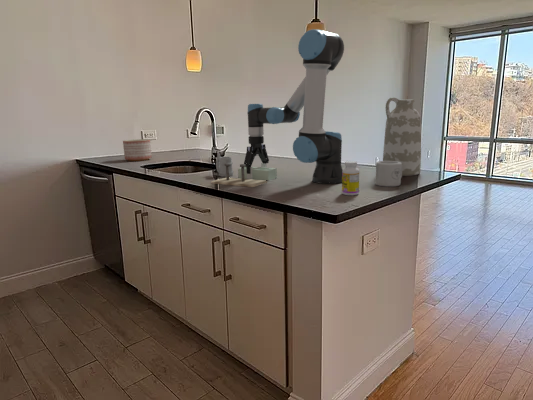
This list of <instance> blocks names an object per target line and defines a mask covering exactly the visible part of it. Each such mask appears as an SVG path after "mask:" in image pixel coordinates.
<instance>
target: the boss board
mask: <svg viewBox="0 0 533 400" xmlns="http://www.w3.org/2000/svg"><path fill="white" fill-rule="evenodd" d="M224 166H226V177H221V178H218V179H216V180H215V179H214V180H211V181H210V182H211V184H212V185H213V184H214V185H224V186H225V185H226V186H236V187H238V186H239V187H248V188H255V187H258V186H261V184H262V185H264V183H265V184H267V183H268V181H266V180H252V179H245V174H244V167H245V164H244V163H241V164H239V168H241V173H242V179H240V178H238V177H237V178H235V177H229V166H230V163H225V164H224Z"/></svg>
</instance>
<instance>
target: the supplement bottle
mask: <svg viewBox="0 0 533 400" xmlns="http://www.w3.org/2000/svg"><path fill="white" fill-rule="evenodd" d="M342 169H343V170H342V182H341V193H342V194H343V195H345V196H357V195H359V193H360V169H359V168H358V162H357V161H354V160H352V161H351V160H349V161H344V168H342Z"/></svg>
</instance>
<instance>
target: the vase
mask: <svg viewBox="0 0 533 400" xmlns="http://www.w3.org/2000/svg"><path fill="white" fill-rule="evenodd" d="M391 102H394V103H395V108H393V109H392V110H390V104H391ZM414 102H415V99H399V98H397V97H394V96H392V97H389V98H388V99H387V101H386V103H385V115H386V120H385V121H386V122H385V129H384V140H383V154H382V161H398V162H401V163H402V177H409V176H410V177H412V176H418V175H420V173H421V168H422V167H421V166H422V165H421V164H422V163H421V162H422V118H421V117H422V116H421V114H420V113H419V111H418V110H417V109H415V108H414V107H413V106H414V105H413V104H414Z"/></svg>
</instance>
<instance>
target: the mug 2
mask: <svg viewBox="0 0 533 400" xmlns="http://www.w3.org/2000/svg"><path fill="white" fill-rule="evenodd" d="M402 178H403V176H402V163H401V162H398V161H383V160H380V161H377V162H376V163H375V180H374V184H375V185H376V186H379V187H388V188H389V187H399V186H401V183H402V180H401V179H402Z"/></svg>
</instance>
